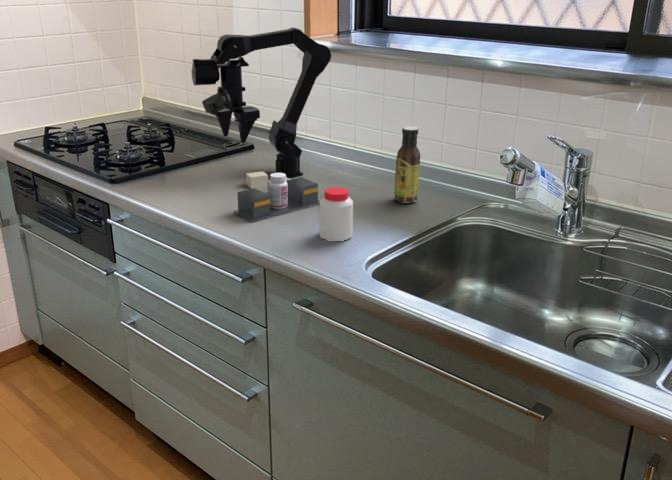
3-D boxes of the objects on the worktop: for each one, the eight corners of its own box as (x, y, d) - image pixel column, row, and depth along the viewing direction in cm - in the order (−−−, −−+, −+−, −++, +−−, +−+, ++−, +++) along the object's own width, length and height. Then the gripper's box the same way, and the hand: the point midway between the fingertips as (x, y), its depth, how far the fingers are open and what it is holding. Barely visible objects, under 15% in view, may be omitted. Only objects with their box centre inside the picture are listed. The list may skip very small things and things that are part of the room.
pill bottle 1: (285, 210, 171) (284, 178, 167) (266, 208, 171) (266, 176, 168) (290, 203, 175) (289, 172, 172) (272, 202, 176) (271, 171, 172)
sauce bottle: (390, 198, 182) (393, 125, 174) (411, 195, 184) (415, 123, 176) (400, 206, 176) (403, 131, 168) (421, 203, 178) (426, 129, 170)
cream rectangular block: (263, 183, 193) (262, 171, 192) (268, 187, 190) (267, 175, 188) (246, 185, 191) (246, 173, 190) (251, 189, 188) (251, 177, 186)
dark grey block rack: (303, 195, 183) (303, 175, 181) (322, 203, 177) (322, 183, 175) (233, 213, 170) (232, 192, 168) (251, 222, 164) (250, 200, 162)
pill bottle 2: (318, 229, 160) (318, 185, 156) (350, 229, 161) (351, 185, 157) (320, 242, 153) (320, 196, 149) (354, 241, 154) (355, 196, 150)
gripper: (188, 81, 186) (192, 137, 192) (223, 91, 173) (227, 151, 179) (223, 77, 192) (226, 131, 199) (260, 87, 179) (262, 144, 185)
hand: (234, 139), depth 190 cm, fingers open, 9 cm apart
